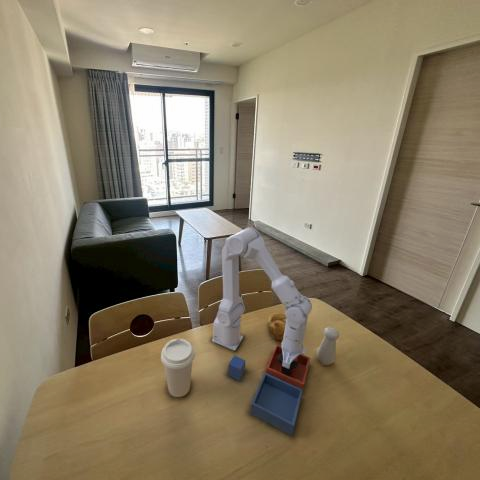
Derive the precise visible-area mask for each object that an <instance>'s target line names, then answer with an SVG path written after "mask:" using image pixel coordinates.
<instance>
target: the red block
mask: <svg viewBox="0 0 480 480" xmlns="http://www.w3.org/2000/svg"><path fill="white" fill-rule="evenodd" d="M297 358H298V357H296V358H295V359H294V361H297ZM294 372H295V369H293V370H292V372H291V374H290V376H289V377H292V378H293V375H294ZM280 373H282V368H281V369H280Z"/></svg>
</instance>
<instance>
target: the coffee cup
mask: <svg viewBox="0 0 480 480" xmlns="http://www.w3.org/2000/svg"><path fill="white" fill-rule="evenodd" d="M195 357H196V352H195V349H194V347H193V345H192V344H191V343H190V342H189V341H188V340H186V339H184V338H175V339H174V338H173V339H171V340H169V341H167V342H166V344H165V345H164V347H163V348H162V350H161V354H160V361H161V363H162V364H163V369H164V373H165V378H166V383H167V389H168V392H169V394H170V395H171V396H172V397H175V398H181V397H184V396H186V395H187V394H188V393H189V392H190V388H191V381H192V371H193V361H194V360H195Z"/></svg>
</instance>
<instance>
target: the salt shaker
mask: <svg viewBox="0 0 480 480" xmlns="http://www.w3.org/2000/svg"><path fill="white" fill-rule="evenodd" d="M323 335H324V338H323V340H322V341H321V343H320V345H319V347H318V348H317V350H316V358H317V360H318V361H319V362H320V364H321V365H324V366H326V367H327V366H330V365H331V364H333V363H335V361H336V359H337V340H338V339H339V338H340V333H339V331H338V329H336V328H334V327H332V326H331V327H330V326H329V327H326V328H324V331H323Z"/></svg>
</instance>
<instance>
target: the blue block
mask: <svg viewBox="0 0 480 480" xmlns="http://www.w3.org/2000/svg"><path fill="white" fill-rule="evenodd" d="M227 369H228V370H227V376H228V377H229V378H232V379H234V380H236V381H237V382H240V381H241V380H242V377H243V375H244V373H245V369H246V359H244V358H242V357H239V356H237V355H235V354H234V355H233V356H232V357H231V359H230V361H229V362H228V368H227Z"/></svg>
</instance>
